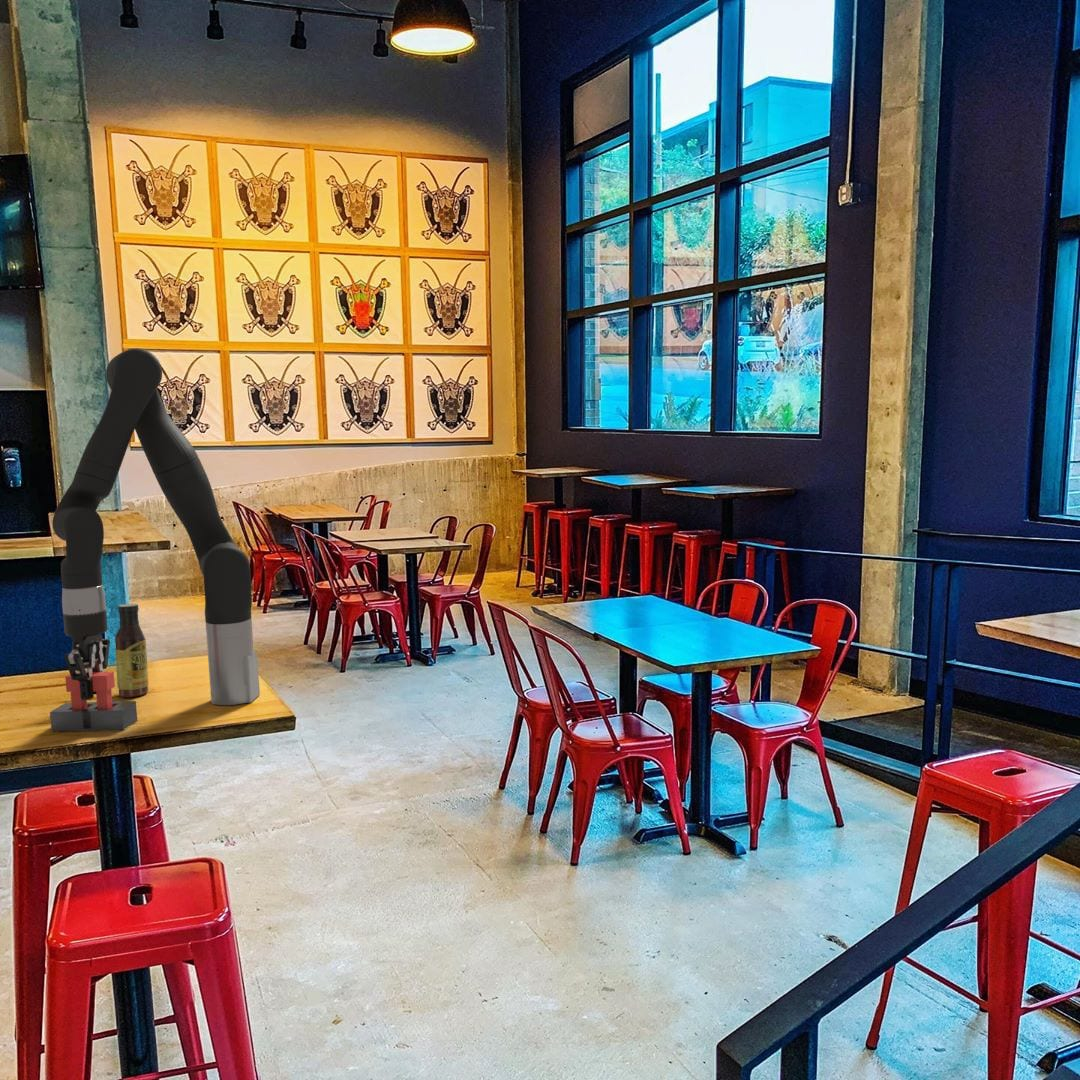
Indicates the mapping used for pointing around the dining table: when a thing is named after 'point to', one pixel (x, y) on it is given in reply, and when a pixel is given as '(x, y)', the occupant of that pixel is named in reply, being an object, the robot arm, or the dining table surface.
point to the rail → (94, 717)
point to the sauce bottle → (131, 654)
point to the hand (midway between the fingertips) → (92, 695)
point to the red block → (100, 684)
